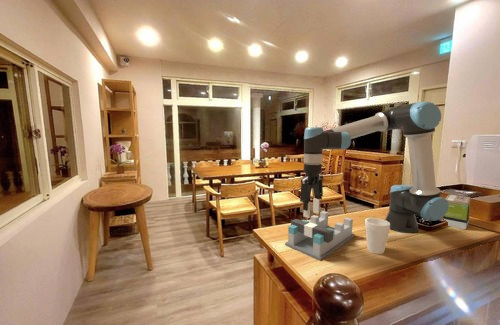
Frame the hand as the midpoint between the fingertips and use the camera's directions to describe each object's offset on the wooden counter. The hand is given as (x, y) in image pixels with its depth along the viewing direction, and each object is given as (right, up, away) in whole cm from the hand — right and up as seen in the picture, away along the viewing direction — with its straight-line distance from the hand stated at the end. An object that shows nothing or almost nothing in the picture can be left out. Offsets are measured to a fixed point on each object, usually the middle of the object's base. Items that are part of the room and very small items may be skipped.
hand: (311, 214), depth 102 cm
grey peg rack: (+7, -14, +8) cm, 18 cm away
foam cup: (+28, -15, -1) cm, 32 cm away
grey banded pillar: (0, -9, +1) cm, 9 cm away
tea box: (+88, -11, +27) cm, 92 cm away
